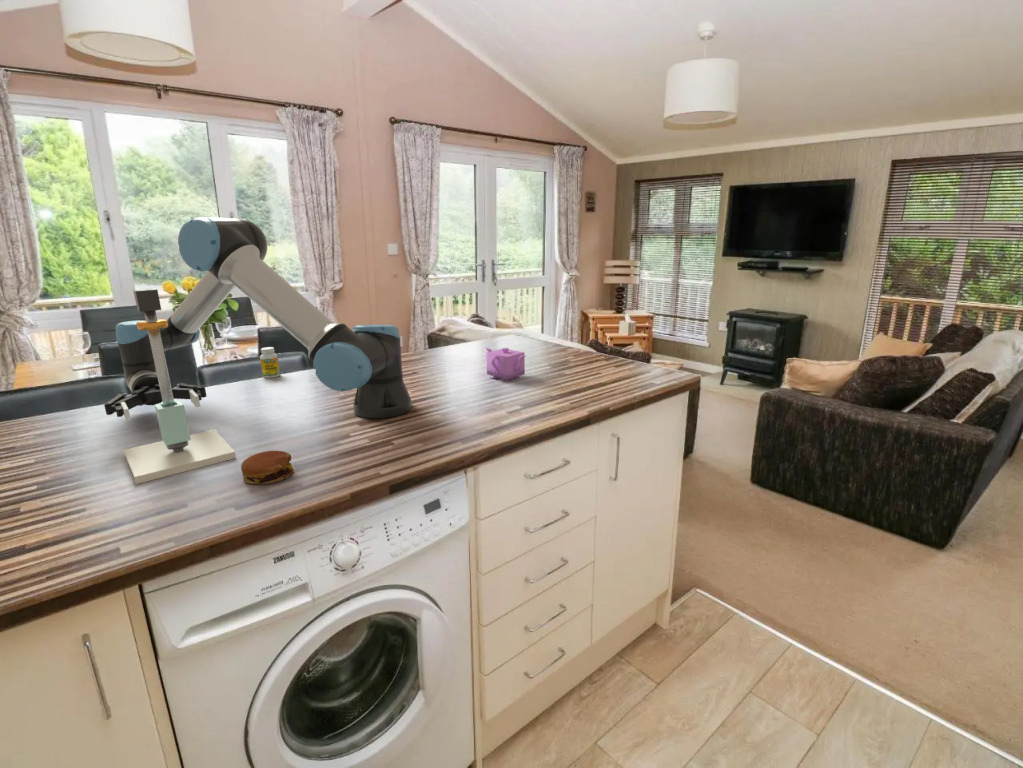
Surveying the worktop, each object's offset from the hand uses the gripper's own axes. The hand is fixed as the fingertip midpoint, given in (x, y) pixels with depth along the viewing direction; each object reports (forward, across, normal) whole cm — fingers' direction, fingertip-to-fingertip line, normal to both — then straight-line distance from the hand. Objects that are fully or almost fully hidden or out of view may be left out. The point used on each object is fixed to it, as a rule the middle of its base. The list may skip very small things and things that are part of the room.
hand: (163, 408), depth 121 cm
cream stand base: (+10, 0, -9) cm, 13 cm away
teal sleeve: (+10, 0, -5) cm, 11 cm away
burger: (+33, -12, -9) cm, 36 cm away
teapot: (+10, -92, -8) cm, 93 cm away
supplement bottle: (-46, -37, -9) cm, 59 cm away
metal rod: (+10, 0, -7) cm, 12 cm away
